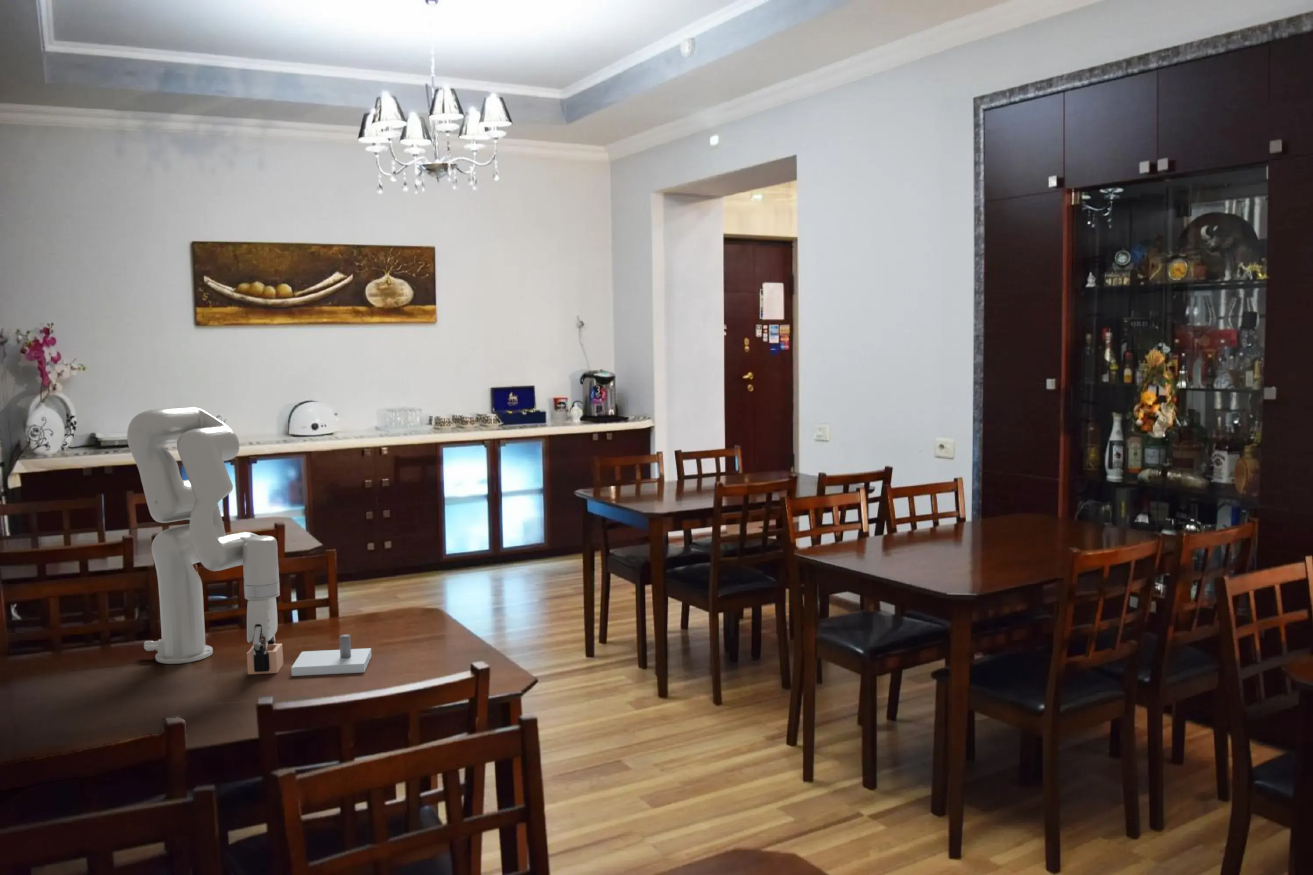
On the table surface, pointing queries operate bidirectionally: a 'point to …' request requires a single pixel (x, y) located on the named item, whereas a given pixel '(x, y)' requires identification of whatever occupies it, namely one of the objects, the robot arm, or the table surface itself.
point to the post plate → (332, 660)
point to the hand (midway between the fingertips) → (265, 665)
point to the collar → (274, 659)
